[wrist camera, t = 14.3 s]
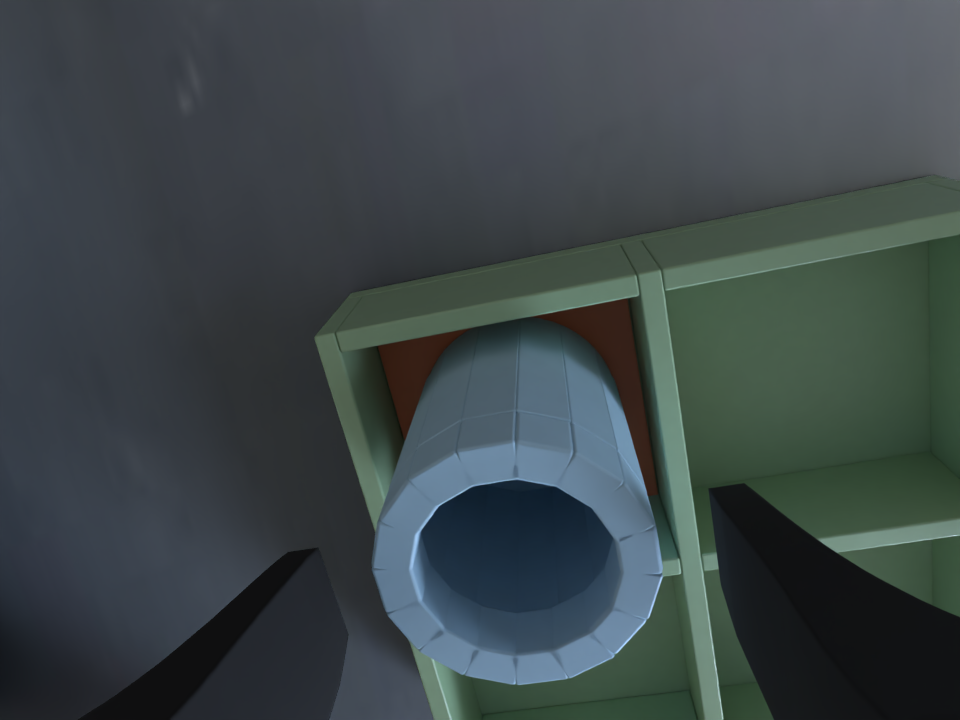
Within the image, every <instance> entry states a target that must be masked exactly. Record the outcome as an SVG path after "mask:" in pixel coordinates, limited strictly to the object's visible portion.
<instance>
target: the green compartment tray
mask: <svg viewBox="0 0 960 720" xmlns="http://www.w3.org/2000/svg"><path fill="white" fill-rule="evenodd" d="M526 317H533V318H541V319H544V320H548V321H552V322H555V323H557V324H560V325H563V326H565V327H567V328H569V329H570V330H572V331H574V332H576V333H577V334H579V335H580V336H581V337H583V338H584V339H585V340H587V341H588V342H589V343H590V344H591V345H592V346H593V347H594V348H595V349H596V350H597V352H598V353H599V354H600V355H601V357H602V358H603V359H604V361H605V363H606V365H607V366H608V368H609V370H610V373H611V375H612V377H613V378H614V380H615V382H616V385H617V389H618V392H619V396H620V399H621V403H622V406H623V410H624V414H625V417H626V421H627V424H628V428H629V431H630V435H631V438H632V442H633V445H634V449H635V452H636V456H637V459H638V463H639V466H640V470H641V473H642V477H643V480H644V484H645V487H646V491H647V496H648V499H649V503H650V506H651V510H652V513H653V517H654V520H655V524H656V527H657V533H658V539H659V545H660V552H661V558H662V564H663V570H662V574H663V577H662V581H661V584H660V587H659V590H658V593H657V596H656V599H655V602H654V605H653V608H652V611H651V614H650V617H649V618H648V619H646V622H645V624H644V625H643V626H642V627H641V628H640V629H639V630H638V631H637V632H636V633H635V634H634V636H633V637H632V638H631V639H630V640H629V641H628V642H627V643H626V644H625V645H624V646H623V647H622V648H621V650H620V651H619V652H618V653H616V654H614V657H613V658H611V659H609V660H607V661H605V662H603V663H601V664H599V665H597V666H595V667H593V668H591V669H589V670H586V671H584V672H582V673H580V674H578V675H576V676H574V677H572V678H567V679H563V680H555V681H547V682H539V683H531V684H523V685H517V684H516V683H515V684H513V685H512V684H507V683H502V682H496V681H491V680H486V679H480V678H475V677H469V676H466V675H465V674H463V675H461V674H459V673H457V672H456V671H454V670H452V669H450V668H448V667H446V666H445V665H443V664H441V663H439V662H437V661H435V660H434V659H432V658H430V657H428V656H426V655H424V654H423V653H421V652H420V651H419V649H416V648H415V647H414V645H413V644H412V643H411V642H410V641H409V642H410V645H411V648H412V652H413V655H414V658H415V661H416V664H417V668H418V671H419V674H420V677H421V680H422V683H423V687H424V690H425V693H426V696H427V699H428V703H429V706H430V709H431V712H432V715H433V719H434V720H774V719H773V717H772V714H771V712H770V710H769V708H768V705H767V703H766V701H765V699H764V697H763V694H762V692H761V690H760V688H759V685H758V683H757V681H756V679H755V677H754V674H753V672H752V670H751V668H750V665H749V663H748V661H747V659H746V656H745V654H744V652H743V650H742V647H741V645H740V643H739V640H738V638H737V636H736V632H735V629H734V626H733V623H732V620H731V617H730V614H729V610H728V607H727V604H726V600H725V597H724V594H723V591H722V587H721V583H720V575H719V568H718V560H717V552H716V545H715V537H714V529H713V521H712V514H711V506H710V498H709V491H708V488H715V487H721V486H728V485H734V484H741V483H745V484H746V485H748V486H749V487H750V488H752V489H753V490H754V491H755V492H757V493H758V494H759V495H760V496H762V497H763V498H764V499H765V500H766V501H768V502H769V503H770V504H771V505H773V506H774V507H775V508H776V509H778V510H779V511H780V512H781V513H783V514H784V515H785V516H787V517H788V518H789V519H790V520H792V521H793V522H794V523H796V524H797V525H798V526H800V527H801V528H802V529H804V530H805V531H806V532H808V533H809V534H811V535H812V536H813V537H815V538H816V539H818V540H819V541H820V542H822V543H823V544H825V545H826V546H827V547H829V548H830V549H832V550H833V551H835V552H836V553H838V554H839V555H841V556H843V557H844V558H846V559H848V560H849V561H851V562H852V563H854V564H856V565H857V566H859V567H860V568H862V569H864V570H865V571H867V572H869V573H871V574H872V575H874V576H876V577H878V578H879V579H881V580H883V581H885V582H887V583H889V584H891V585H893V586H895V587H897V588H899V589H901V590H902V591H904V592H906V593H908V594H910V595H912V596H914V597H916V598H918V599H920V600H922V601H924V602H927V603H929V604H931V605H933V606H935V607H937V608H940V609H942V610H944V611H947V612H949V613H951V614H954V615H956V616H958V617H960V181H958V180H954V179H949V178H946V177H942V176H937V175H933V176H928V177H923V178H918V179H913V180H908V181H903V182H898V183H893V184H888V185H883V186H878V187H873V188H868V189H863V190H858V191H853V192H849V193H844V194H839V195H834V196H829V197H824V198H819V199H814V200H809V201H804V202H799V203H794V204H789V205H784V206H779V207H774V208H769V209H764V210H759V211H754V212H750V213H745V214H740V215H735V216H730V217H725V218H720V219H715V220H710V221H705V222H700V223H695V224H690V225H685V226H680V227H675V228H670V229H665V230H660V231H655V232H651V233H646V234H641V235H636V236H631V237H626V238H621V239H616V240H611V241H606V242H601V243H596V244H591V245H586V246H581V247H576V248H571V249H566V250H561V251H556V252H552V253H547V254H542V255H537V256H532V257H527V258H522V259H517V260H512V261H507V262H502V263H497V264H492V265H487V266H482V267H477V268H472V269H467V270H462V271H457V272H453V273H448V274H443V275H438V276H433V277H428V278H423V279H418V280H413V281H408V282H403V283H398V284H393V285H388V286H383V287H378V288H373V289H368V290H363V291H358V292H354V293H351V294H350V295H349V296H348V297H347V298H346V300H345V301H344V302H343V303H342V305H341V306H340V307H339V308H338V309H337V310H336V312H335V313H334V314H333V315H332V316H331V318H330V319H329V320H328V321H327V322H326V324H325V325H324V326H323V327H322V328H321V330H320V331H319V332H318V333H317V334H316V336H315V338H314V339H315V342H316V345H317V349H318V352H319V355H320V358H321V361H322V364H323V368H324V371H325V374H326V377H327V380H328V384H329V387H330V390H331V393H332V396H333V400H334V403H335V406H336V409H337V412H338V415H339V419H340V422H341V425H342V428H343V431H344V435H345V438H346V441H347V444H348V447H349V451H350V454H351V457H352V460H353V463H354V467H355V470H356V473H357V476H358V479H359V482H360V486H361V489H362V492H363V495H364V498H365V502H366V505H367V508H368V511H369V514H370V518H371V521H372V524H373V527H374V530H375V534H376V527H377V522H378V519H379V516H380V513H381V510H382V507H383V504H384V502H385V499H386V496H387V493H388V491H389V486H390V483H391V480H392V477H393V475H394V472H395V469H396V466H397V463H398V460H399V457H400V454H401V451H402V449H403V446H404V443H405V440H406V437H407V434H408V431H409V428H410V425H411V422H412V420H413V417H414V414H415V411H416V408H417V405H418V402H419V399H420V396H421V393H422V391H423V388H424V385H425V382H426V379H427V378H428V376H429V375H430V373H431V371H432V368H433V367H434V365H435V363H436V361H437V360H438V358H439V357H440V355H441V354H442V353H443V351H444V350H445V349H446V348H447V347H448V346H449V345H450V344H451V343H452V342H453V341H454V340H455V339H457V338H458V337H459V336H461V335H462V334H463V333H465V332H466V331H468V330H470V329H472V328H474V327H479V326H484V325H489V324H495V323H500V322H505V321H510V320H516V319H521V318H526Z"/></svg>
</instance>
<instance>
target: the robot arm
mask: <svg viewBox="0 0 960 720" xmlns="http://www.w3.org/2000/svg"><path fill="white" fill-rule="evenodd" d="M708 491H709V498H710V506H711V514H712V521H713V529H714V537H715V545H716V552H717V560H718V568H719V575H720V583H721V587H722V591H723V594H724V597H725V600H726V604H727V607H728V610H729V614H730V617H731V620H732V623H733V626H734V629H735V632H736V636H737V638H738V640H739V643H740V645H741V647H742V650H743V652H744V654H745V656H746V659H747V661H748V663H749V665H750V668H751V670H752V672H753V674H754V677H755V679H756V681H757V683H758V685H759V688H760V690H761V692H762V694H763V697H764V699H765V701H766V703H767V705H768V708H769V710H770V712H771V714H772V717H773V719H774V720H960V617H958V616H956V615H954V614H951V613H949V612H947V611H944V610H942V609H940V608H937V607H935V606H933V605H931V604H929V603H927V602H924V601H922V600H920V599H918V598H916V597H914V596H912V595H910V594H908V593H906V592H904V591H902V590H901V589H899V588H897V587H895V586H893V585H891V584H889V583H887V582H885V581H883V580H881V579H879V578H878V577H876V576H874V575H872V574H871V573H869V572H867V571H865V570H864V569H862V568H860V567H859V566H857V565H856V564H854V563H852V562H851V561H849V560H848V559H846V558H844V557H843V556H841V555H839V554H838V553H836V552H835V551H833V550H832V549H830V548H829V547H827V546H826V545H825V544H823V543H822V542H820V541H819V540H818V539H816V538H815V537H813V536H812V535H811V534H809V533H808V532H806V531H805V530H804V529H802V528H801V527H800V526H798V525H797V524H796V523H794V522H793V521H792V520H790V519H789V518H788V517H787V516H785V515H784V514H783V513H781V512H780V511H779V510H778V509H776V508H775V507H774V506H773V505H771V504H770V503H769V502H768V501H766V500H765V499H764V498H763V497H762V496H760V495H759V494H758V493H757V492H755V491H754V490H753V489H752V488H750V487H749V486H748V485H746V484H745V483H741V484H734V485H728V486H721V487H715V488H708ZM347 640H348V632H347V629H346V626H345V623H344V620H343V617H342V615H341V612H340V609H339V606H338V603H337V600H336V597H335V594H334V591H333V588H332V586H331V583H330V580H329V577H328V574H327V571H326V568H325V565H324V562H323V560H322V557H321V554H320V551H319V548H312V549H306V550H299V551H293V552H288V553H286V554H285V555H284V556H282V557H281V558H280V559H279V560H277V561H276V562H275V563H274V564H273V565H271V566H270V567H269V568H268V569H267V570H266V571H264V572H263V573H262V574H261V575H260V576H259V577H258V578H257V579H256V580H254V581H253V582H252V583H251V584H250V585H249V586H248V587H247V588H246V589H245V590H243V591H242V592H241V593H240V594H239V595H238V596H237V597H236V598H235V599H234V600H232V601H231V602H230V603H229V604H228V605H227V606H226V607H225V608H224V609H222V610H221V611H220V612H219V613H218V614H217V615H216V616H215V617H214V618H213V619H211V620H210V621H209V622H208V623H207V624H206V625H204V626H203V627H202V628H201V629H200V630H198V631H197V632H196V633H195V634H194V635H193V636H191V637H190V638H189V639H188V640H187V641H185V642H184V643H183V644H182V645H181V646H179V647H178V648H177V649H176V650H175V651H174V652H172V653H171V654H170V655H169V656H168V657H166V658H165V659H164V660H163V661H161V662H160V663H159V664H157V665H156V666H155V667H154V668H152V669H151V670H150V671H148V672H147V673H146V674H144V675H143V676H142V677H140V678H139V679H138V680H136V681H135V682H133V683H132V684H131V685H129V686H128V687H126V688H125V689H124V690H122V691H121V692H119V693H118V694H117V695H115V696H114V697H112V698H111V699H109V700H108V701H106V702H105V703H103V704H102V705H100V706H99V707H97V708H96V709H94V710H92V711H91V712H89V713H88V714H86V715H84V716H83V717H81V718H80V719H78V720H329V718H330V715H331V712H332V709H333V705H334V702H335V699H336V696H337V692H338V689H339V686H340V681H341V675H342V670H343V665H344V659H345V653H346V647H347Z"/></svg>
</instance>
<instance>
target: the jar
mask: <svg viewBox="0 0 960 720" xmlns="http://www.w3.org/2000/svg"><path fill="white" fill-rule="evenodd" d="M371 564H372V572H373V575H374V578H375V581H376V585H377V588H378V591H379V594H380V597H381V600H382V603H383V606H384V609H385V611H386V613H387V616H388V617H389V618H390V619H391V620H392V621H393V623H394V624H395V625H396V626H397V627H398V628H399V629H400V631H401V632H402V633H403V634H404V635H405V636H406V637H407V639H408V640H409V641H410V642H411V643H412V644H413V645H414V647H415V648H416V649H419V651H420V652H421V653H423V654H424V655H426V656H428V657H430V658H432V659H434V660H435V661H437V662H439V663H441V664H443V665H445V666H446V667H448V668H450V669H452V670H454V671H456V672H457V673H459V674H461V675H463V674H465V675H466V676H469V677H475V678H480V679H486V680H491V681H496V682H502V683H507V684H512V685H513V684H515V683H516V684H517V685H523V684H531V683H539V682H547V681H555V680H563V679H567V678H572V677H574V676H576V675H578V674H580V673H582V672H584V671H586V670H589V669H591V668H593V667H595V666H597V665H599V664H601V663H603V662H605V661H607V660H609V659H611V658H613V657H614V654H616V653H618V652H619V651H620V650H621V648H622V647H623V646H624V645H625V644H626V643H627V642H628V641H629V640H630V639H631V638H632V637H633V636H634V634H635V633H636V632H637V631H638V630H639V629H640V628H641V627H642V626H643V625H644V624H645V622H646V619H648V618H649V617H650V614H651V611H652V608H653V605H654V602H655V599H656V596H657V593H658V590H659V587H660V584H661V581H662V577H663V574H662V570H663V564H662V558H661V552H660V545H659V539H658V533H657V527H656V524H655V520H654V517H653V513H652V510H651V506H650V503H649V499H648V496H647V491H646V487H645V484H644V480H643V477H642V473H641V470H640V466H639V463H638V459H637V456H636V452H635V449H634V445H633V442H632V438H631V435H630V431H629V428H628V424H627V421H626V417H625V414H624V410H623V406H622V403H621V399H620V396H619V392H618V389H617V385H616V382H615V380H614V378H613V377H612V375H611V373H610V370H609V368H608V366H607V365H606V363H605V361H604V359H603V358H602V357H601V355H600V354H599V353H598V352H597V350H596V349H595V348H594V347H593V346H592V345H591V344H590V343H589V342H588V341H587V340H585V339H584V338H583V337H581V336H580V335H579V334H577V333H576V332H574V331H572V330H570V329H569V328H567V327H565V326H563V325H560V324H557V323H555V322H552V321H548V320H544V319H541V318H533V317H526V318H521V319H516V320H510V321H505V322H500V323H495V324H489V325H484V326H479V327H474V328H472V329H470V330H468V331H466V332H465V333H463V334H462V335H461V336H459V337H458V338H457V339H455V340H454V341H453V342H452V343H451V344H450V345H449V346H448V347H447V348H446V349H445V350H444V351H443V353H442V354H441V355H440V357H439V358H438V360H437V361H436V363H435V365H434V367H433V368H432V371H431V373H430V375H429V376H428V378H427V379H426V382H425V385H424V388H423V391H422V393H421V396H420V399H419V402H418V405H417V408H416V411H415V414H414V417H413V420H412V422H411V425H410V428H409V431H408V434H407V437H406V440H405V443H404V446H403V449H402V451H401V454H400V457H399V460H398V463H397V466H396V469H395V472H394V475H393V477H392V480H391V483H390V486H389V491H388V493H387V496H386V499H385V502H384V504H383V507H382V510H381V513H380V516H379V519H378V522H377V527H376V534H375V541H374V548H373V554H372V561H371Z"/></svg>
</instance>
